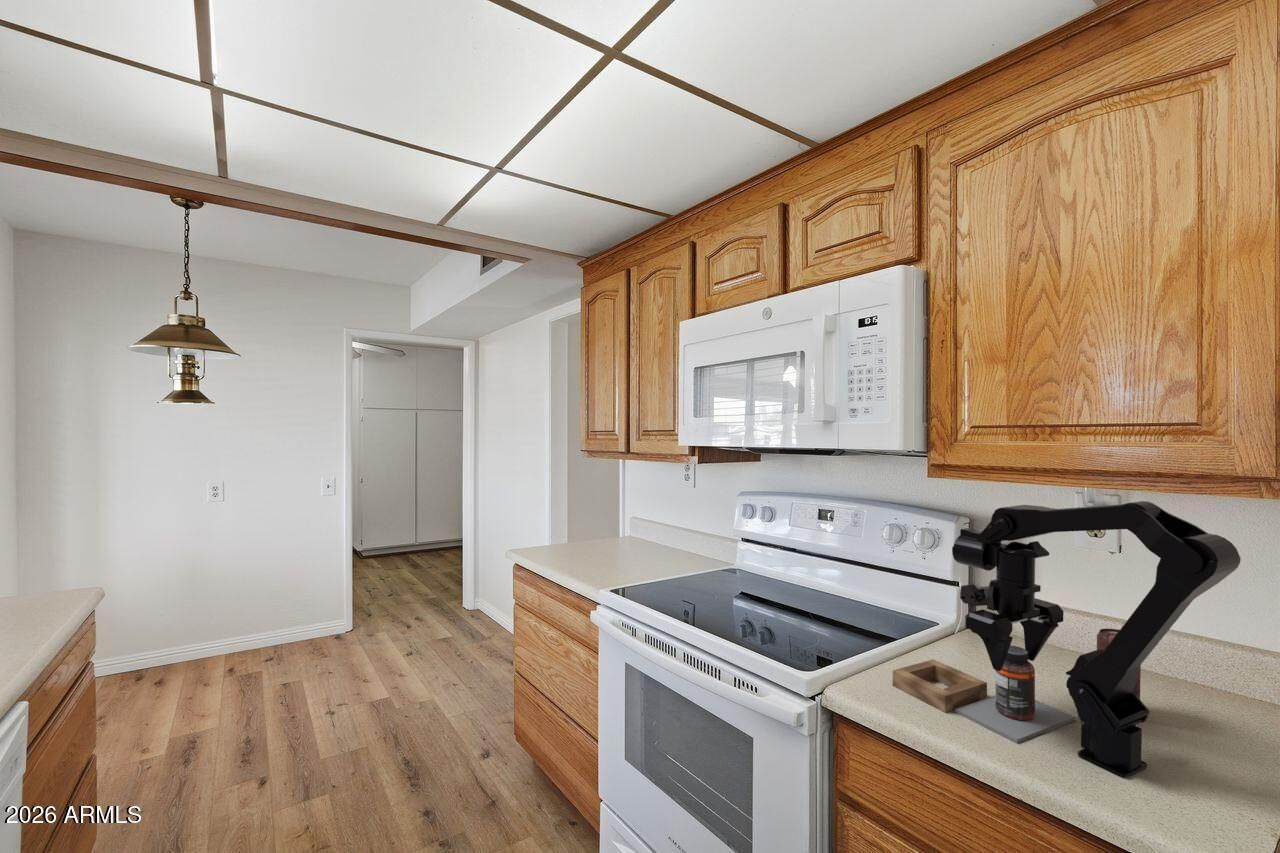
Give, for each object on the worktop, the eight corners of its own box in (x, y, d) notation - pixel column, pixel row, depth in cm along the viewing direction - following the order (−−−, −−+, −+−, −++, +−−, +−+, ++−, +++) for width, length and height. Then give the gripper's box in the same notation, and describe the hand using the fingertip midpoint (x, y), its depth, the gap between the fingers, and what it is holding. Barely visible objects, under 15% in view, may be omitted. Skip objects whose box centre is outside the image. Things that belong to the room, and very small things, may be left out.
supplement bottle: (1023, 704, 107) (1024, 643, 107) (1042, 722, 102) (1043, 657, 101) (988, 703, 108) (989, 642, 108) (1005, 721, 102) (1005, 656, 102)
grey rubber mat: (1075, 720, 103) (1075, 716, 103) (1016, 743, 96) (1016, 739, 96) (1012, 692, 113) (1012, 689, 113) (955, 712, 106) (955, 708, 106)
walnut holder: (986, 698, 111) (987, 682, 111) (944, 712, 106) (945, 695, 106) (933, 673, 122) (933, 659, 122) (892, 685, 117) (892, 670, 117)
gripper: (1004, 560, 115) (1003, 639, 116) (938, 572, 107) (937, 657, 108) (1066, 574, 105) (1064, 661, 106) (998, 589, 97) (996, 683, 98)
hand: (1013, 665), depth 105 cm, fingers open, 9 cm apart
